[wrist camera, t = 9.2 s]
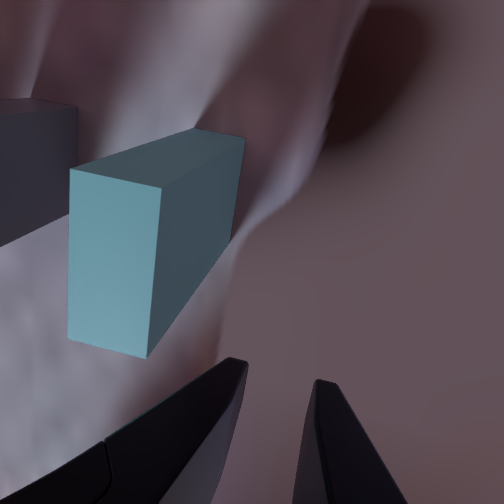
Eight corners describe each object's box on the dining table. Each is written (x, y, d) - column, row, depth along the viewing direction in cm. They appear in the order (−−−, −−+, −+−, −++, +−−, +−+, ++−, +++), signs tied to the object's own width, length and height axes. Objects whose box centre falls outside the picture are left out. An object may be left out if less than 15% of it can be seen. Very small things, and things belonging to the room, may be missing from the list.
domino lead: (245, 138, 20) (161, 188, 11) (229, 243, 22) (145, 359, 13) (193, 127, 21) (69, 168, 11) (181, 232, 23) (67, 338, 13)
